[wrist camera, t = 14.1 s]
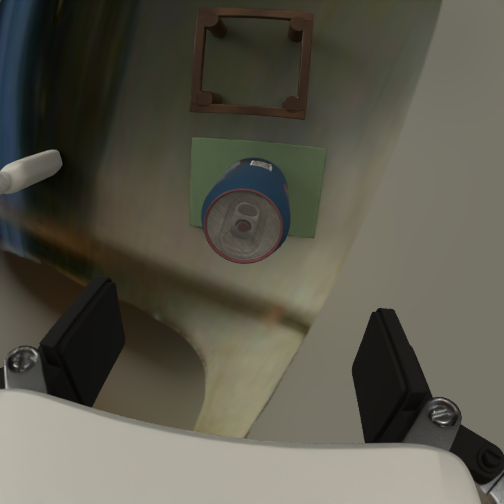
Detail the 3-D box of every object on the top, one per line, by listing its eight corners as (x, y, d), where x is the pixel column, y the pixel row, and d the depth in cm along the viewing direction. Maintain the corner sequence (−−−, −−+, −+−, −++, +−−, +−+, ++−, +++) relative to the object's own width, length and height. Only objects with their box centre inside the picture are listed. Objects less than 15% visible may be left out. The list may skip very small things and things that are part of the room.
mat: (191, 224, 37) (190, 226, 37) (192, 137, 33) (191, 137, 32) (313, 236, 36) (314, 238, 36) (325, 148, 32) (326, 149, 32)
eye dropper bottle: (34, 144, 34) (-31, 166, 23) (65, 150, 34) (-1, 174, 23) (32, 175, 36) (-29, 204, 25) (62, 183, 36) (0, 215, 25)
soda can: (275, 226, 36) (273, 282, 25) (215, 207, 35) (186, 255, 25) (296, 167, 33) (305, 198, 22) (232, 147, 32) (208, 168, 22)
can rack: (202, 111, 31) (189, 112, 27) (209, 21, 27) (197, 8, 22) (301, 118, 31) (305, 119, 26) (308, 26, 27) (313, 13, 22)
